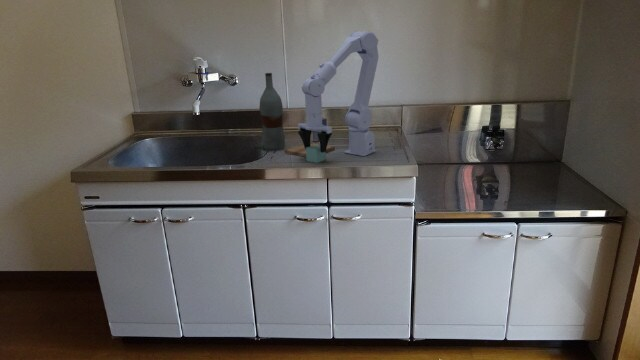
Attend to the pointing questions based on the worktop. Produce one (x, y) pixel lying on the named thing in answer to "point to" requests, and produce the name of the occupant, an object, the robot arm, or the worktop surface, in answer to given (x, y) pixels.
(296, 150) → the board
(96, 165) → the worktop surface
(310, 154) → the cube
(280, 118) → the bottle
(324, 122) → the dark blue flat box
